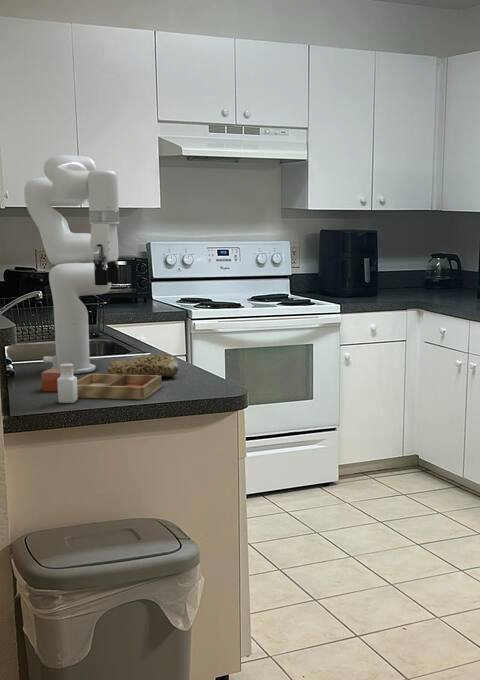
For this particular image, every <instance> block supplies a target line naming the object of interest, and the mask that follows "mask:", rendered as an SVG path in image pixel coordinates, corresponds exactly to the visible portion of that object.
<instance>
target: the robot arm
mask: <svg viewBox="0 0 480 680" xmlns="http://www.w3.org/2000/svg"><path fill="white" fill-rule="evenodd" d="M43 172H44V175H45V176H41V177H35V178H32V179H29V180H28V181H26V183H25V185H24V191H23V195H24V202H25V206H26V209H27V211H28V214H29V215H30V217H31V219H32V220H33V222H34V224H35V225H36V228H37V229H38V231H39V234H40V238H41V241H42V244H43V248H44V251H45V254H46V257H47V259H48V261H49V262H50V263H51V264H52V265H54V266H53V267H52V268H50V270H49V273H48V281H49V286H50V287H49V288H50V291H51V296H52V303H53V305H52V306H53V318H54V319H53V320H54V321H53V322H54V342H55V355H53V356H48V355H47V356H43V357H42V363H44V364H51V365H52V366H51V367H50V369H60V364H67V363H69V364H73V371H74V372H73V375H78V374H79V375H80V374H86V373H91V372H94V371H95V370H96V365H95V364H93V363H91V356H90V331H89V329H90V328H89V312H88V309H87V306H86V305H85V304H84V302H83V301H82V300H81V299H80V297H83V296H97V295H99V296H100V295H103V294H104V295H105V294H106V293H108V292H109V291H110V290H111V288H112V283H119V282H120V275H119V258H120V255H119V253H120V252H119V251H120V250H119V249H120V248H119V236H118V235H119V234H118V226H117V225H120V206H119V203H120V202H119V183H118V182H119V181H118V175H117V174H118V173H116V171H113V170H108V169H97V165H96V163H95V160H93V159H92V158H91V157H89V156H87V155H86V156H85V155H71V154H70V155H69V154H56V155H53V156H50V157H48V158H47V159H46V161H45V162H44V165H43ZM87 200H88V211H89V212H88V213H89V225H91V226H90V233H87V232H79V233H78V232H72V231H71V230H70V227H69V223H68V221H67V219H66V217H64V216H63V215H62V214H61V213H60V212H59V211H58V210H56V209H55V208H53V207H79V206H82V205H83V204H85V202H86V201H87Z"/></svg>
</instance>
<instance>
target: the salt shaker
mask: <svg viewBox="0 0 480 680" xmlns="http://www.w3.org/2000/svg"><path fill="white" fill-rule="evenodd" d="M73 372H74V371H73V364H69V363H67V364H60V373H61V377H59V378H58V379H57V382H58V391H57V401H58V403H59V404H73V403H75V402H76V401H78V399H79V398H78V395H77V380H78V378H77V376H75V375H74V374H73Z"/></svg>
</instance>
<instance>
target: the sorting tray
mask: <svg viewBox="0 0 480 680" xmlns="http://www.w3.org/2000/svg"><path fill="white" fill-rule="evenodd" d="M162 377H163V376H161V375H122V374H108V373H88V374H86V375H85V376H83V377H81V378H78V379H77V395H78V399H79V398H82V399H113V400H114V399H115V400H116V399H117V400H118V399H119V400H145V399H147V398H148V397H150V396H151V395H153V393H155V392H156V391H158V390H159V389H161V388H162V387H163V382H162V380H163V379H162Z"/></svg>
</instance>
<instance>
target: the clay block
mask: <svg viewBox="0 0 480 680" xmlns="http://www.w3.org/2000/svg"><path fill="white" fill-rule="evenodd" d="M59 377H61V373H60V369H51V368H48V369H46V370H44V371H41V391H42V392H58V382H57V379H58V378H59Z"/></svg>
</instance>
